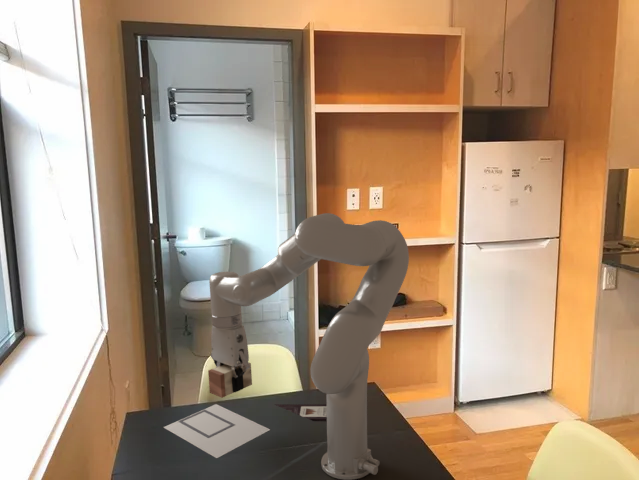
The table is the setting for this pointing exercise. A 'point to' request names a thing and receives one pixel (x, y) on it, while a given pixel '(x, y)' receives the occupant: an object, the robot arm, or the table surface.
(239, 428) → the mat
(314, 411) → the chocolate bar
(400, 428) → the table surface
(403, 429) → the table surface
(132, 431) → the table surface
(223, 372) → the block
